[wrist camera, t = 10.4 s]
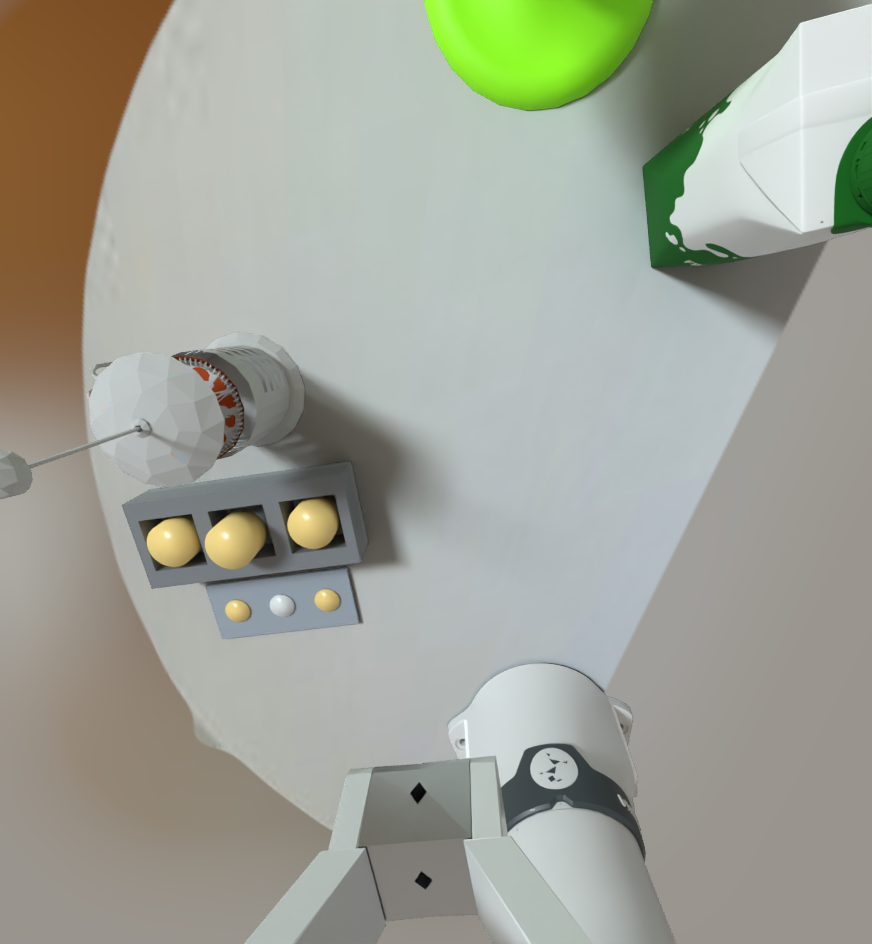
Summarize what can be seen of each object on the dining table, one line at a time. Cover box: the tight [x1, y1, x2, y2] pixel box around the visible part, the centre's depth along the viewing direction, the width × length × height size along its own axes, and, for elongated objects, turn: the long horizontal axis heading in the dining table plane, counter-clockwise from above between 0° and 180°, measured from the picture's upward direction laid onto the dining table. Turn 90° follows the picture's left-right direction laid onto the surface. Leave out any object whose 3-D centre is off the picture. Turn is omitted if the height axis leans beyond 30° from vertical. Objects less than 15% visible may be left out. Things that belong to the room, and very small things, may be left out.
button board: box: [122, 461, 368, 639], centre depth 45 cm, size 16×19×4 cm
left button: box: [147, 514, 203, 567], centre depth 43 cm, size 4×4×3 cm
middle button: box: [205, 510, 268, 569], centre depth 41 cm, size 4×4×3 cm
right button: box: [287, 495, 341, 549], centre depth 42 cm, size 4×4×3 cm
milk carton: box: [643, 4, 872, 267], centre depth 28 cm, size 9×9×20 cm
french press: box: [0, 332, 305, 499], centre depth 30 cm, size 10×12×25 cm
